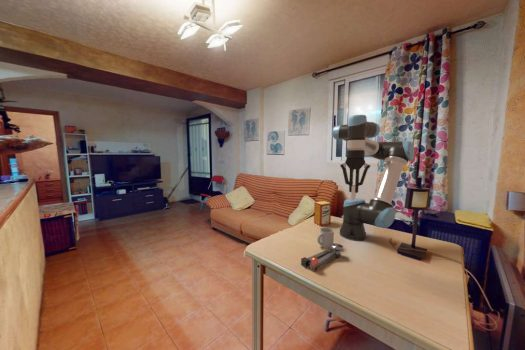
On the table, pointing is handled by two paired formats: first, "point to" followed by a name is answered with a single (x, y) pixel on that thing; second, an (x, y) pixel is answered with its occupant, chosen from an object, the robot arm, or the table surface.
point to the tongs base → (307, 261)
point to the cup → (326, 237)
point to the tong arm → (325, 257)
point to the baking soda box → (322, 213)
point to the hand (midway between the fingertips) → (353, 199)
